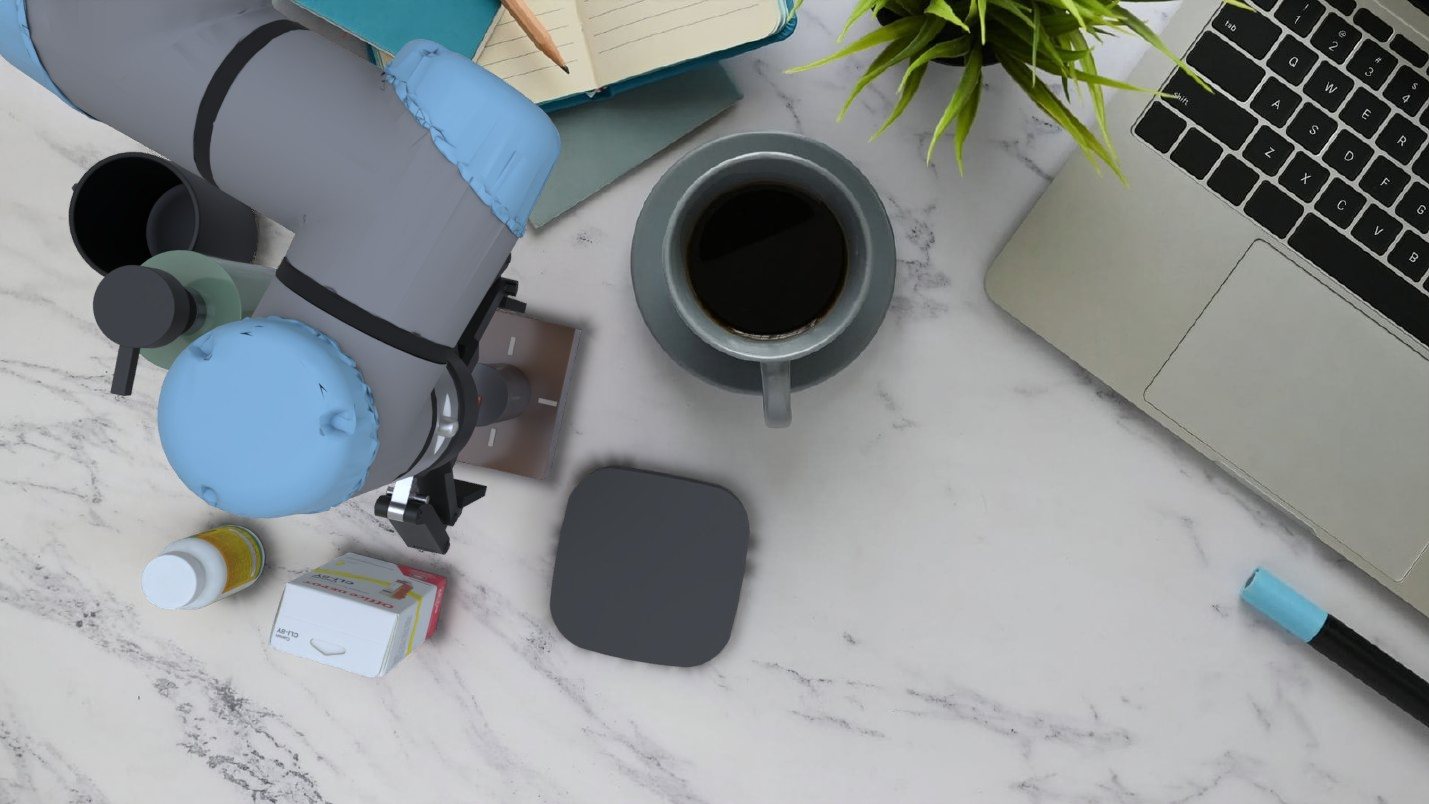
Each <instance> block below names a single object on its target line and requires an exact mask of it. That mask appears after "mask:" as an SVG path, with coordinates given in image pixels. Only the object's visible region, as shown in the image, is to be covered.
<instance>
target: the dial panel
mask: <svg viewBox="0 0 1429 804" xmlns="http://www.w3.org/2000/svg"><path fill="white" fill-rule="evenodd" d="M581 334H582V329H580V328H577V327H571V326H567V325H562V324H558V323H553V322H549V321H543V320H540V319H536V318H531V317H526V316H522V315H518V314H513V313H510V312H504V311H500V310H496V311H495V313H494V315H493V317H492V319H491V321H490V323H489V325H488V326H487V328H486V330H485V332H484V334H483V336H482V338H481V340H480V342H479V360H478V362H477V363H505V364H510V365H513V366H515V367H517V368H518V369H520V370H521V371H522V372H523V373H524V375H525V376H526V378H527V379H528V382H529V385H530V399H529V403H528V405H527V407H526V408H525V410H524V411H523V412H522V413H521V414H520V415H518V416H517V417H515V418H512V419H509V420H506V421H502V422H498V423H494V424H491V425H487V426H482V427H475V429H474V431H473V434H472V436H471V438H470V439H469V441H468V443H467V444H466V446H465V447H464V448H463V449H462V450H461V452H460V453H459V454H458V457H457V460H456V462H460V463H463V464H469V465H474V466H477V467H478V466H479V467H482V468H487V469H491V470H495V471H499V472H505V473H509V474H513V475H518V476H521V477H522V476H523V477H526V478H531V479H536V480H539V481H544V480H545V479H547V478H548V477H550V476H551V471H552V467H553V462H554V459H555V454H556V448H557V445H558V439H559V435H560V430H561V426H562V420H563V417H564V411H565V409H566V402H567V398H568V394H569V389H570V385H571V380H572V375H573V371H574V365H575V361H576V357H577V352H578V347H579V343H580V338H581Z"/></svg>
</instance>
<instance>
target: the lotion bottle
mask: <svg viewBox="0 0 1429 804" xmlns="http://www.w3.org/2000/svg"><path fill="white" fill-rule="evenodd" d="M141 266H145V267H151V268H157V269H161V270H163V271H166V272H168V273H169V274H171V275H173V276H174V277H175V278H176V279H177V280H178V281H179V282H180V283H181V285H182V286H183V287H184V289H185V291H186V293H187V296H188V300H189V306H190V312H189V318H188V322H187V324H186V327H185V329H184V330H183V332H182V333H181V334H180V336H179V337H178V338H177V339H175V340H174V341H173V342H171V343H169V344H168V345H165V346H163V347H159V348H152V349H151V348H141V349H140V354H139V355H140V356H141V357H142V358H144V359H145V360H146V361H148V362H149V363H151V364H153V365H155V366H157V367H159V368H161V369H164V370H167V371H169V369H170V367H171V365H172V364H173V362H174V361H175V360H176V358H177V357H178V356H179V355H180V353H181V352H182V351H183V350H185V349H186V348H187V347H188V346H189V345H190V344H191V343H192V342H194V341H195V340H196V339H198V338H199V337H201V336H202V335H204V334H206V333H208V332H209V331H211V330H213V329H215V328H216V327H218V326H221V325H224V324H227V323H231V322H235V321H237V320H243V319H244V318H246V317H249V318H251V317H252V315H253V313H254V312H255V310H256V308H257V306H258V304H259V303H260V301H261V299H262V297H263V295H264V293H265V291H266V290H267V288H268V286H269V284H270V282H271V281H272V279H273V277H274V275H275V273H276V270H277V268H275V267H270V266H265V265H260V264H255V263H252V262H251V263H246V262H241V261H237V260H232V259H227V258H222V257H217V256H212V255H208V254H203V253H198V252H193V251H187V250H175V251H168V252H164V253H161V254H158V255H156V256H154V257H152V258H150V259H148V260H147V261H146V262H144V263H143V264H142V265H141Z"/></svg>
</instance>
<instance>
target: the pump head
mask: <svg viewBox="0 0 1429 804" xmlns="http://www.w3.org/2000/svg"><path fill="white" fill-rule="evenodd" d="M92 312H93V316H94V317H93V318H94V320H95V323H96V325H97V327H98V328H99V330H100V331H101V332H102V334H103V335H104V336H105V337H106V338H107V339H109V341H111V342H113V343H114V344H117V345H118V351H117V357H116V361H115V366H114V371H113V376H112V381H111V382H112V383H111V387H110V391H109V392H110V394H112V395H117V396H121V397H130V396H132V393H133V389H134V384H135V378H136V374H137V368H138V363H139V358H140V355H141V354H140V349H141V348H151V349H152V348H159V347H163V346H165V345H168V344H169V343H171V342H173V341H174V340H175V339H177V338H178V337H179V336H180V334H181V333H182V332H183V330H184V329H185V327H186V324H187V322H188V318H189V312H190V306H189V300H188V296H187V293H186V291H185V289H184V287H183V286H182V285H181V283H180V282H179V281H178V280H177V279H176V278H175V277H174V276H173V275H171V274H169V273H168V272H166V271H163V270H161V269H157V268H151V267H145V266H139V265H128V266H123V267H119V268H117V269H115V270H113V271H111V272H110V273H109V274H107V275H106V276H105V277H104V276H103V278H102V279H101V280H100V282H99V283H98V285H97V287H96V289H95V292H94V295H93V298H92Z"/></svg>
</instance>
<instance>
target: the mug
mask: <svg viewBox="0 0 1429 804" xmlns="http://www.w3.org/2000/svg"><path fill="white" fill-rule="evenodd" d="M71 190H72V195H71V198H70V201H69V207H68V228H69V233H70V236H71V239H72V242H73V245H74V246H75V248H76V251H77V252H78V253H79V256H80V257H81V259H82V260H83V261H84V262H85V263H86V264H87V265H88V266H89V267H90V268H91V269H92V270H94V271H95V272H96V273H97V274H99V275H100V276H102V277H103V278H104V277H105V276H106V275H107V274H109V273H110V272H111V271H113V270H115V269H117V268H119V267H123V266H128V265H139V266H141V265H142V264H143V263H144V262H146V261H147V260H148V259H150V258H152V257H154V256H156V255H158V254H161V253H164V252H168V251H175V250H187V251H193V252H198V253H203V254H208V255H212V256H217V257H222V258H227V259H232V260H237V261H241V262H246V263H251V264H252V262H253V260H254V257H255V254H256V251H257V248H258V247H257V246H258V239H259V238H258V237H259V231H258V224H257V220H256V217H255V214H254V211H253V208H251V207H249V206H248V205H246V204H244V203H243V202H241V201H239V200H237V199H236V198H234V197H232V196H231V195H229V194H227V193H225V192H224V191H222V190H220V189H219V188H217V187H215V186H213V185H211V184H210V183H208V182H207V181H206V180H204V179H203V178H201V177H199V176H197V175H196V174H194V173H192V172H190V171H188V170H187V169H185V168H183V167H181V166H180V165H178V164H176V163H174V162H173V161H171V160H169V159H167V158H165V157H162V156H158V155H155V154H154V153H149V152H143V151H126V152H117V153H115V154H112V155H109V156H107V157H105V158H103V159H100V160H99V161H98V162H96V163H95V164H93V165H92V166H91V167H89V169H87V170H86V171H85V172H84V174H83V175H81V177H80V179H79V180H78V181H77V182H75V183H73V185H72V186H71Z"/></svg>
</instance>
